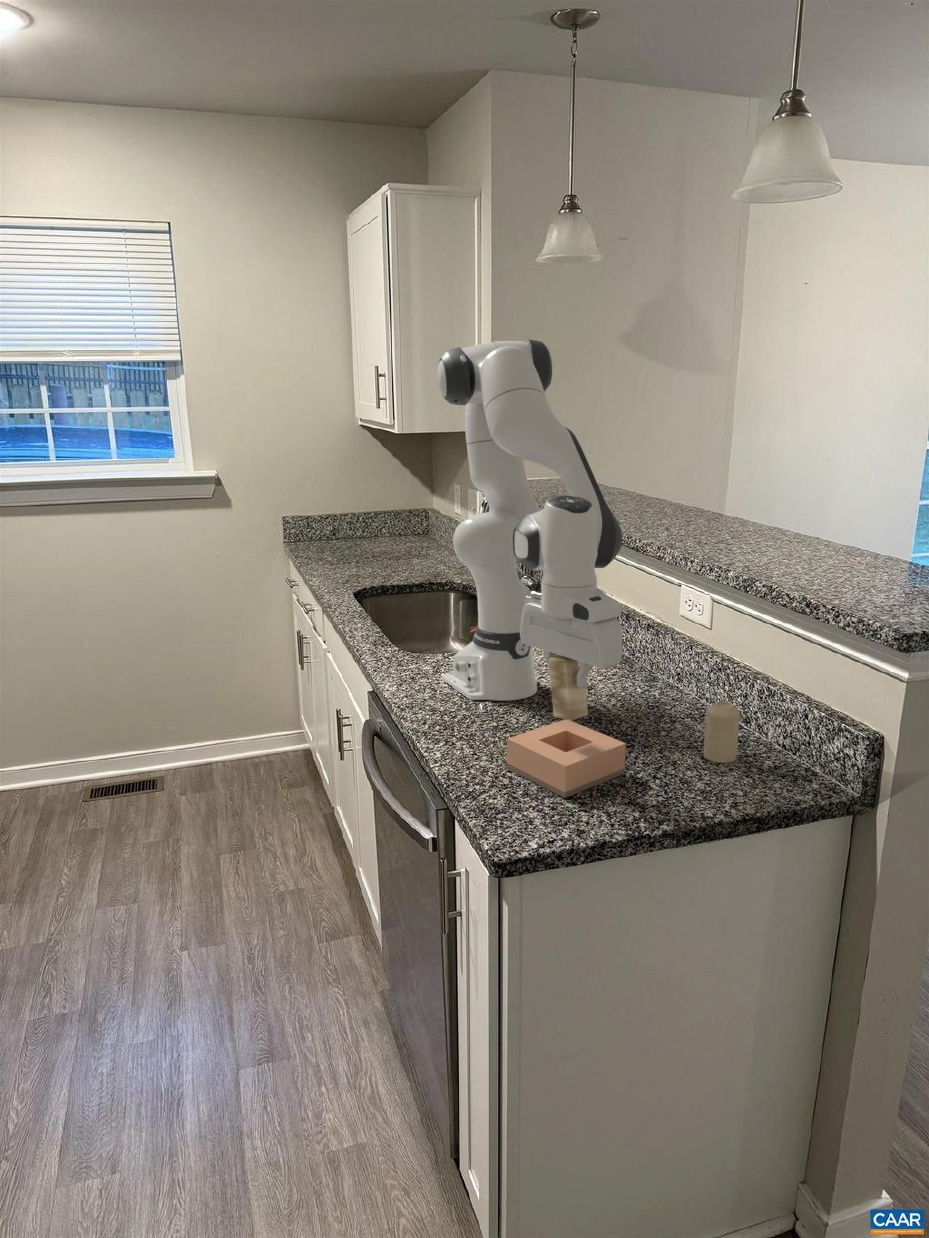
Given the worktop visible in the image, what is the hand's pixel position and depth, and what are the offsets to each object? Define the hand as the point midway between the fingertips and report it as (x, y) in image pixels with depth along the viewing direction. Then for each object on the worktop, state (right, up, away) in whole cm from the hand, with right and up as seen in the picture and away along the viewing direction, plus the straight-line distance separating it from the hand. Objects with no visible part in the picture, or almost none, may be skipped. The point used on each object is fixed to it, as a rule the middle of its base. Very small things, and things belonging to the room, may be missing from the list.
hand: (567, 681), depth 138 cm
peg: (+1, -6, +1) cm, 6 cm away
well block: (0, -16, +4) cm, 16 cm away
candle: (+28, -14, +9) cm, 33 cm away
